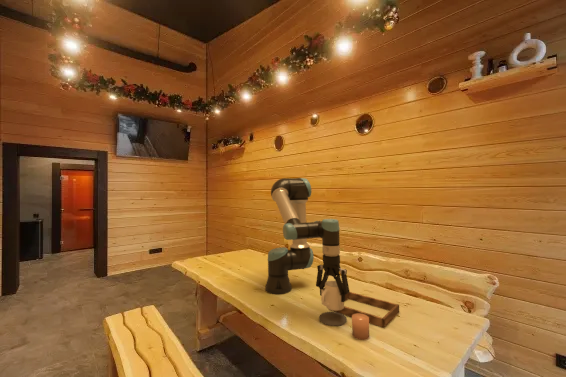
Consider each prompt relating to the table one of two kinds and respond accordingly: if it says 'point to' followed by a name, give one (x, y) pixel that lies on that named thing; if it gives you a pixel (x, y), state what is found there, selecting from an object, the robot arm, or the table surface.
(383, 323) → the frame
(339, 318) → the dark brown round mat
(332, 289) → the mug
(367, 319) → the orange rounded cylinder
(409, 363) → the table surface
